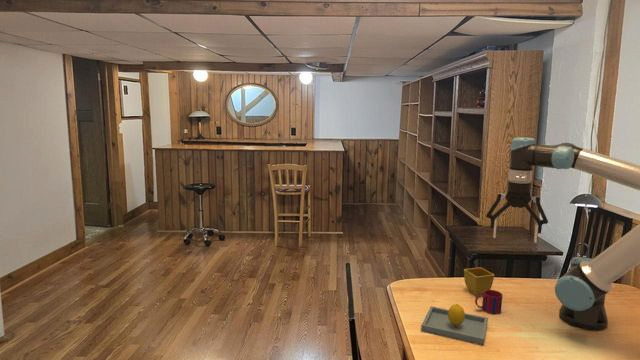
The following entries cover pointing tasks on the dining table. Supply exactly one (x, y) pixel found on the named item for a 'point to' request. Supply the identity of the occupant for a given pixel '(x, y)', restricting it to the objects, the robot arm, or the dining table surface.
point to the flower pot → (478, 280)
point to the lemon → (456, 314)
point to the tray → (467, 331)
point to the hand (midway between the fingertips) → (514, 239)
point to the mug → (491, 301)
